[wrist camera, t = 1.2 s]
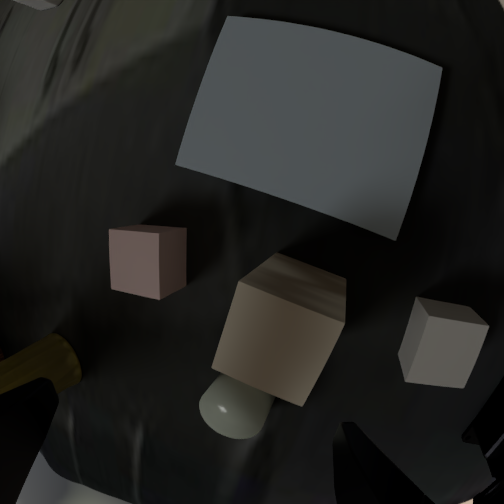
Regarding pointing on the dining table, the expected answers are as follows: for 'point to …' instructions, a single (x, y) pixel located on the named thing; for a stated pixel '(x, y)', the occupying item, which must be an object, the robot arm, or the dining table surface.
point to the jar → (40, 3)
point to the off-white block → (441, 343)
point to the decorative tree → (1, 355)
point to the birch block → (282, 327)
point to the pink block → (148, 260)
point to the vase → (42, 364)
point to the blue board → (314, 119)
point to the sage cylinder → (235, 407)
